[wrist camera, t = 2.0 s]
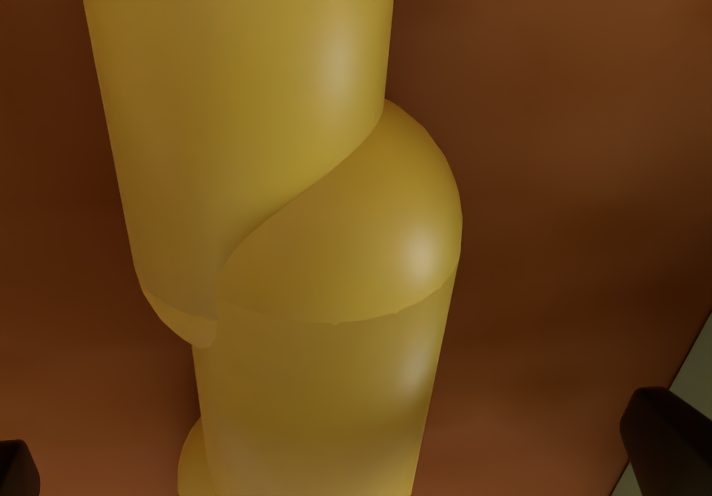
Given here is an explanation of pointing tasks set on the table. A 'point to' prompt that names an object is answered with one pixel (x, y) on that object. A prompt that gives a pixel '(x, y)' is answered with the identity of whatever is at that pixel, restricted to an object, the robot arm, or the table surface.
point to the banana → (283, 234)
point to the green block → (684, 394)
